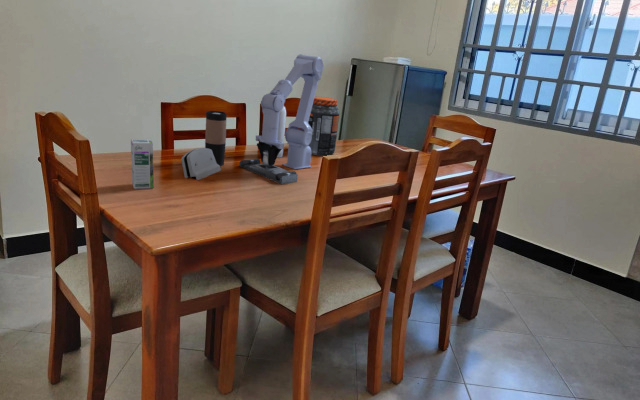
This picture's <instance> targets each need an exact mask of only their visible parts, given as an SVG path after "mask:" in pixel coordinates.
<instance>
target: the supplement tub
mask: <svg viewBox="0 0 640 400" xmlns="http://www.w3.org/2000/svg"><path fill="white" fill-rule="evenodd" d="M339 120H340V109H339V108H338V99H336V98H332V97H327V96H315V97H314V101H313V105H312V109H311V113H310V117H309V121H308V124H309V125H310V127H311V128H312V140H311V143H310V144H309V145H308V146H309V147H310V148H311V155H314V156H323V157H324V156H325V155H326V156H332V155H334V154H335V151H336V144H337V143H336V142H337V137H338V129H339ZM331 154H332V155H331Z"/></svg>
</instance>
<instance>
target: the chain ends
mask: <svg viewBox="0 0 640 400" xmlns="http://www.w3.org/2000/svg"><path fill="white" fill-rule="evenodd" d="M238 166H239V167H240V168H242V169H245V170H247V171H250V172H252V173H254V174H257V175H259V176H261V177H264V178H266V179H267V180H271V181H272V182H276V184H279V185H288V184H293V183H297V182H298V175H299V174H297V172H296V171H289V170H287V169H285V168H282V167H280V166H277V165H275V164H274V165H271V168H270V169H265V168H262V162H261V159H259V158H252V159H251V158H249V159H243V160H242V159H241V160H239V164H238Z"/></svg>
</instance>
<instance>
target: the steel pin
mask: <svg viewBox="0 0 640 400" xmlns="http://www.w3.org/2000/svg"><path fill="white" fill-rule="evenodd" d="M263 154H264V156H263V162H261V164H262V168H265V169H270V168H271V165H269V156H268V151H263Z"/></svg>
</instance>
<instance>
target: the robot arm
mask: <svg viewBox="0 0 640 400" xmlns="http://www.w3.org/2000/svg"><path fill="white" fill-rule="evenodd" d="M323 70H324V62H323V59H322V58H321V57H320V56H311V55H306V54H298V55H296V58H295V59H294V61H293V67H292V69H290V71H289V72H288V74H287V76H286V77H285V79H279V81H278V82H277V84H275V86H274V87H273V88H272V90H271V91H270V92H269V93H266V94H264V95H263V97H262V98H261V101H260V106H261V108H262V114H263V118H262V119H263V120H262V131H261V133H262V134H261V135H255V141H256V142H258V143H256V146H257V148H258V151H259V155H260V162H261V163H263V156H264V154H263V151H268V156H269V165H275V163H276V160H277V159H278V158H277V156H278V154H279V152H280V151H281V150H282V149H283V150H284V149H285V142H284V143H282V142H280V141H279V140H277V139H278V126H279V114H280V111H281V110H282V109H283V106H284V107H285V103H286V99H287V98H288V97H289V95H290V94H291V92H293V85H294V84H295V83H296V82H297V81H298V80H299V79H300V78H302V79H303V81H304V84H303V88H302V92H301V95H300V98H299V99H300V100H299V104H298V108H297V111H296V112H297V113H296V116H295V119H294V120H293V121H291V122H289V123H288V127H287V129H286V130H285V134H284V140H285V141H286V143H287V145H288V148H287V149H288V150H287V157H286V158H287V160H286V161H287V162H285V163H282V166H285V167H287V168H289V169H292V170H300V169H308V168H312V165H311V159H312V154H311V148H310V147H309V146H308V145H309V144H310V143H311V140H312V128H311V127H310V125H309V124H308V121H309V117H310V113H311V109H312V105H313V101H314V97H316V93H317V89H318V86H319V85H318V84H319V82H320V80H321V77H322V74H323Z"/></svg>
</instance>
